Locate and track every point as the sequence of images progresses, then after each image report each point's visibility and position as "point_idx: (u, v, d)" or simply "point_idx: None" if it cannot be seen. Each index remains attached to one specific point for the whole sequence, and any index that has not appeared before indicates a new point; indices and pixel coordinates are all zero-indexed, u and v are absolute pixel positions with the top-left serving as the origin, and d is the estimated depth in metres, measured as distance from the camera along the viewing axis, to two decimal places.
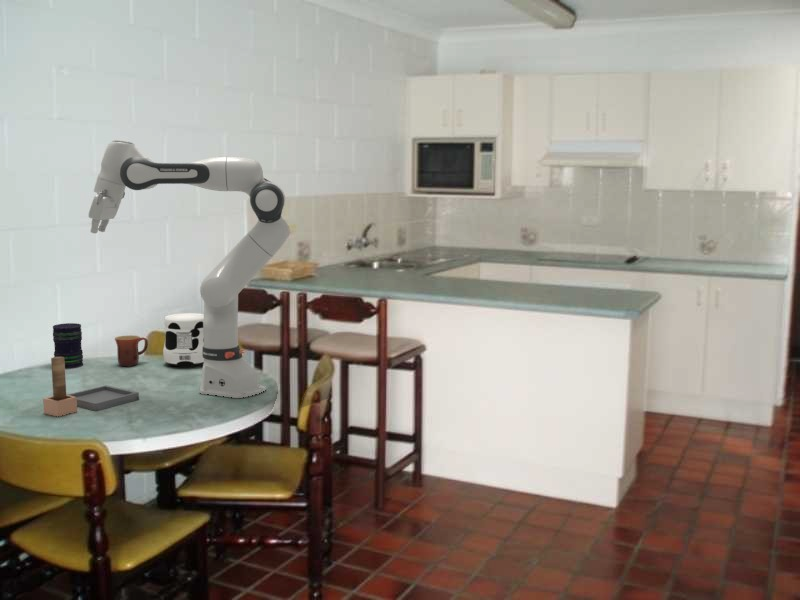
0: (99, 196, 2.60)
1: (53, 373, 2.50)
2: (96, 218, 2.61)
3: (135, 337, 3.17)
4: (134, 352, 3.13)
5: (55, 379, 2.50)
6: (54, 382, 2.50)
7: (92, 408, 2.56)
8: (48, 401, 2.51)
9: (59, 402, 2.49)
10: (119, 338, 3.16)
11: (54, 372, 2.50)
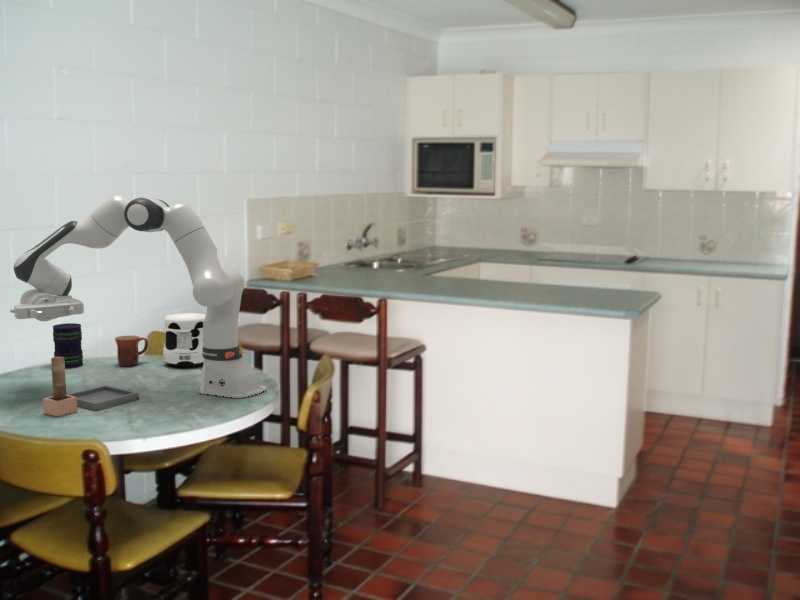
0: (10, 310, 2.65)
1: (53, 373, 2.50)
2: (17, 310, 2.60)
3: (135, 337, 3.17)
4: (134, 352, 3.13)
5: (55, 379, 2.50)
6: (54, 382, 2.50)
7: (92, 408, 2.56)
8: (48, 401, 2.51)
9: (59, 402, 2.49)
10: (119, 338, 3.16)
11: (54, 372, 2.50)
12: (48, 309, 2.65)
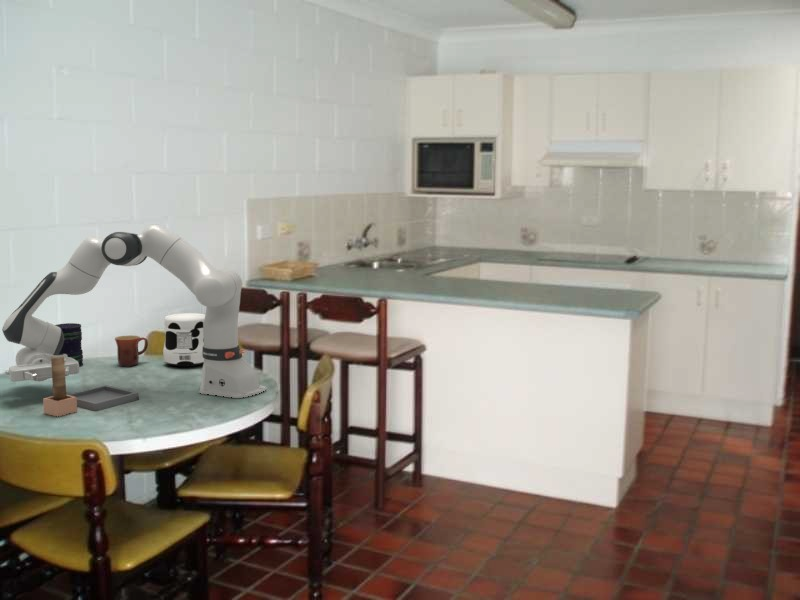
0: (5, 372, 2.63)
1: (53, 373, 2.50)
2: (12, 373, 2.58)
3: (135, 337, 3.17)
4: (134, 352, 3.13)
5: (55, 379, 2.50)
6: (54, 382, 2.50)
7: (92, 408, 2.56)
8: (48, 401, 2.51)
9: (59, 402, 2.49)
10: (119, 338, 3.16)
11: (54, 372, 2.50)
12: (43, 370, 2.64)
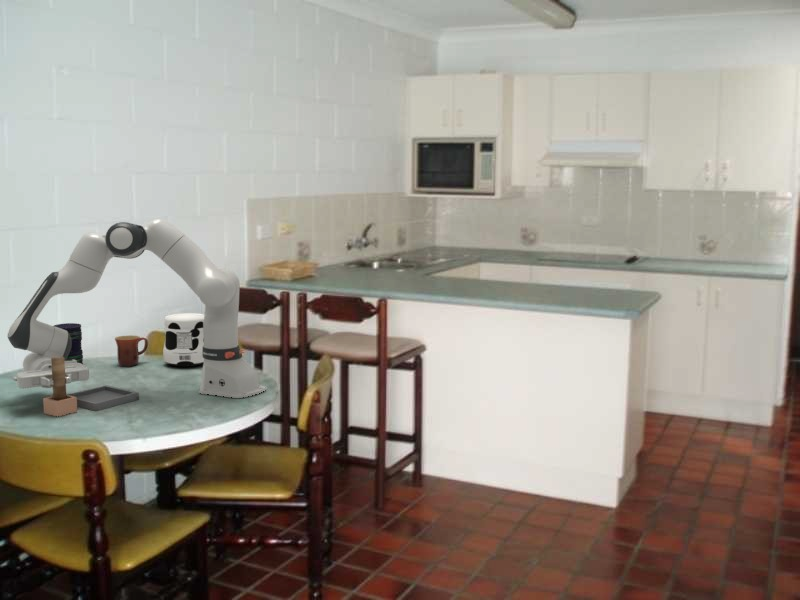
0: (13, 378, 2.55)
1: (53, 373, 2.50)
2: (20, 380, 2.49)
3: (135, 337, 3.17)
4: (134, 352, 3.13)
5: (55, 379, 2.50)
6: (54, 382, 2.50)
7: (92, 408, 2.56)
8: (48, 401, 2.51)
9: (59, 402, 2.49)
10: (119, 338, 3.16)
11: (54, 372, 2.50)
12: None
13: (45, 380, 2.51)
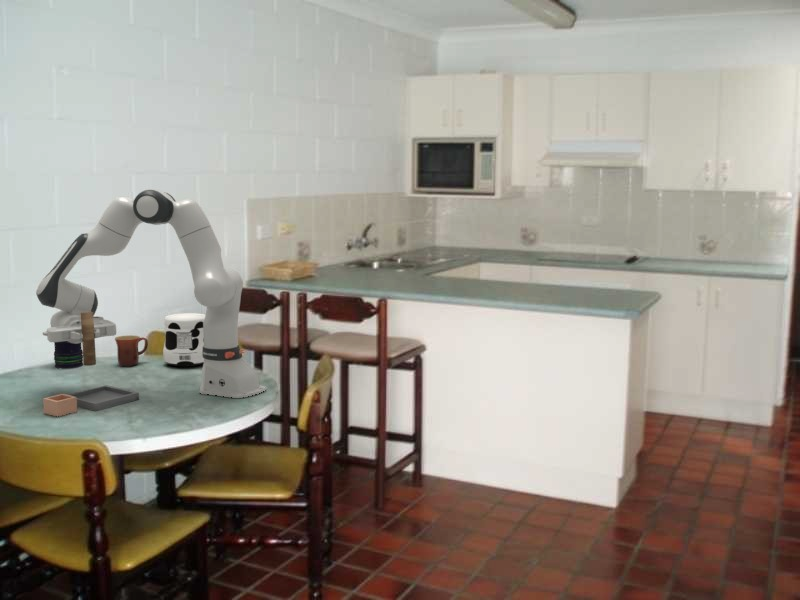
0: (43, 333, 2.62)
1: (83, 327, 2.57)
2: (50, 334, 2.57)
3: (135, 337, 3.17)
4: (134, 352, 3.13)
5: (85, 333, 2.57)
6: (84, 336, 2.58)
7: (92, 408, 2.56)
8: (48, 401, 2.51)
9: (59, 402, 2.49)
10: (119, 338, 3.16)
11: (83, 326, 2.57)
12: (81, 332, 2.62)
13: (75, 334, 2.58)
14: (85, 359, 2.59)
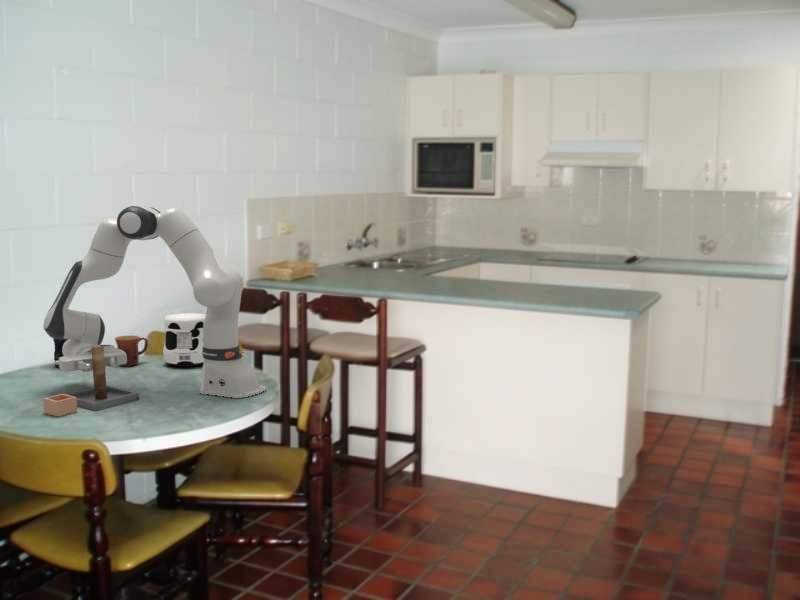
0: (55, 362, 2.67)
1: (93, 362, 2.63)
2: (63, 363, 2.62)
3: (135, 337, 3.17)
4: (134, 352, 3.13)
5: (96, 367, 2.63)
6: (94, 370, 2.63)
7: (92, 408, 2.56)
8: (48, 401, 2.51)
9: (59, 402, 2.49)
10: (119, 338, 3.16)
11: (94, 361, 2.62)
12: None
13: (82, 364, 2.63)
14: (96, 393, 2.64)
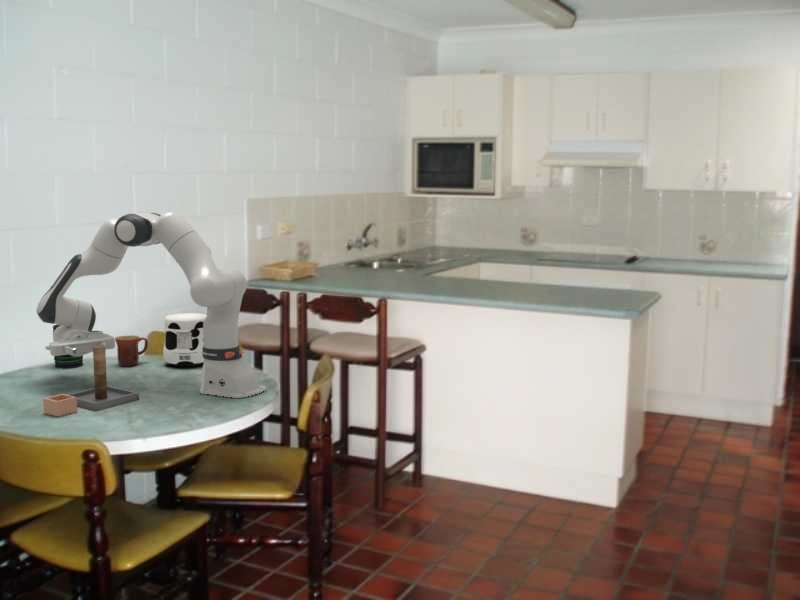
0: (45, 347, 2.77)
1: (95, 362, 2.63)
2: (53, 348, 2.72)
3: (135, 337, 3.17)
4: (134, 352, 3.13)
5: (97, 367, 2.63)
6: (95, 370, 2.63)
7: (92, 408, 2.56)
8: (48, 401, 2.51)
9: (59, 402, 2.49)
10: (119, 338, 3.16)
11: (96, 361, 2.62)
12: (81, 345, 2.78)
13: (68, 349, 2.72)
14: (96, 393, 2.64)
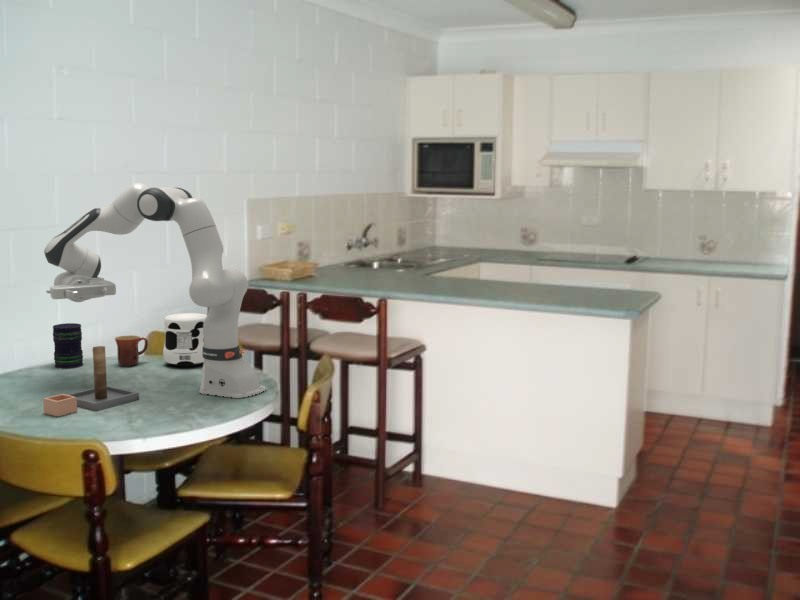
0: (46, 291, 2.77)
1: (94, 361, 2.63)
2: (53, 291, 2.72)
3: (135, 337, 3.17)
4: (134, 352, 3.13)
5: (97, 367, 2.63)
6: (95, 370, 2.63)
7: (92, 408, 2.56)
8: (48, 401, 2.51)
9: (59, 402, 2.49)
10: (119, 338, 3.16)
11: (95, 360, 2.63)
12: (82, 290, 2.77)
13: (69, 292, 2.72)
14: (96, 393, 2.64)
